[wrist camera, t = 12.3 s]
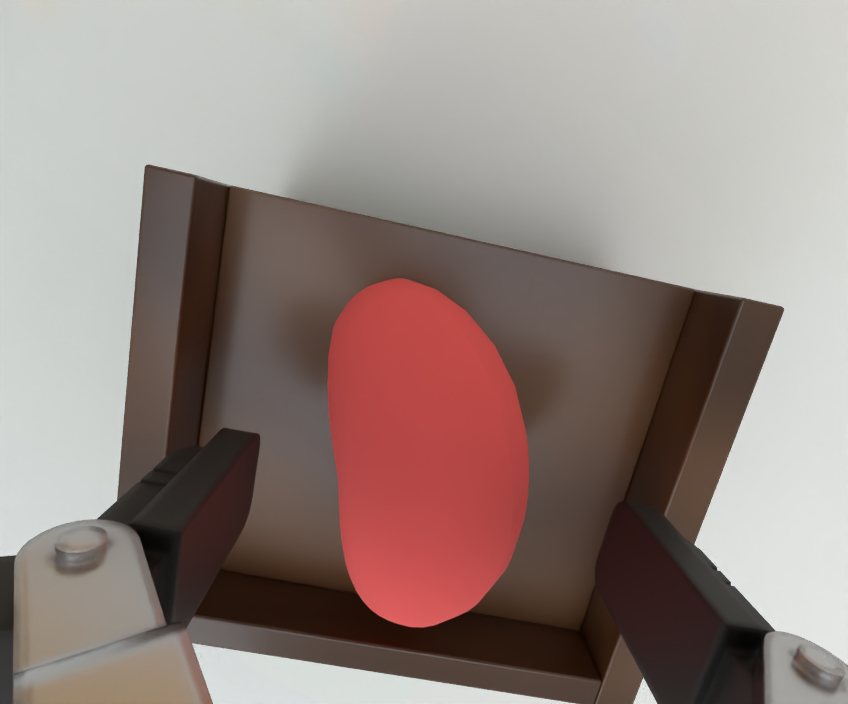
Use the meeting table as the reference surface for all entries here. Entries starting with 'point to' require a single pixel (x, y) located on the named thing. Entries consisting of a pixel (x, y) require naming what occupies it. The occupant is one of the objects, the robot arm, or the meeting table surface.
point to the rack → (537, 393)
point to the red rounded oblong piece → (423, 453)
